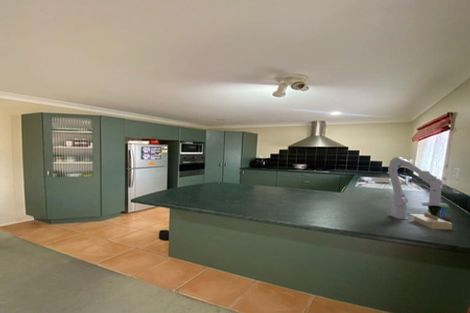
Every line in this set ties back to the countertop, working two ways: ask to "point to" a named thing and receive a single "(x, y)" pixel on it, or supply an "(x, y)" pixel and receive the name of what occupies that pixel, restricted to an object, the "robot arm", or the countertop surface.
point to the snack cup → (442, 212)
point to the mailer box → (435, 224)
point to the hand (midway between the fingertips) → (433, 216)
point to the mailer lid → (428, 217)
